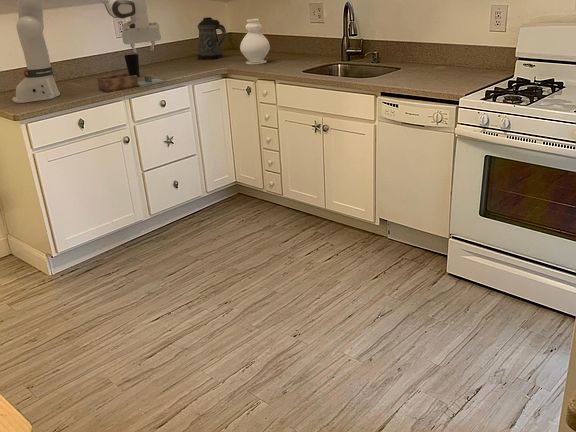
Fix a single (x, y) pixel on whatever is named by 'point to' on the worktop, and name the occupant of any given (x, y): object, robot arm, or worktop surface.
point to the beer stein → (210, 39)
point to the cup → (132, 64)
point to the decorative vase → (254, 43)
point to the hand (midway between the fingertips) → (143, 51)
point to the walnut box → (117, 82)
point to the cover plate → (149, 81)
